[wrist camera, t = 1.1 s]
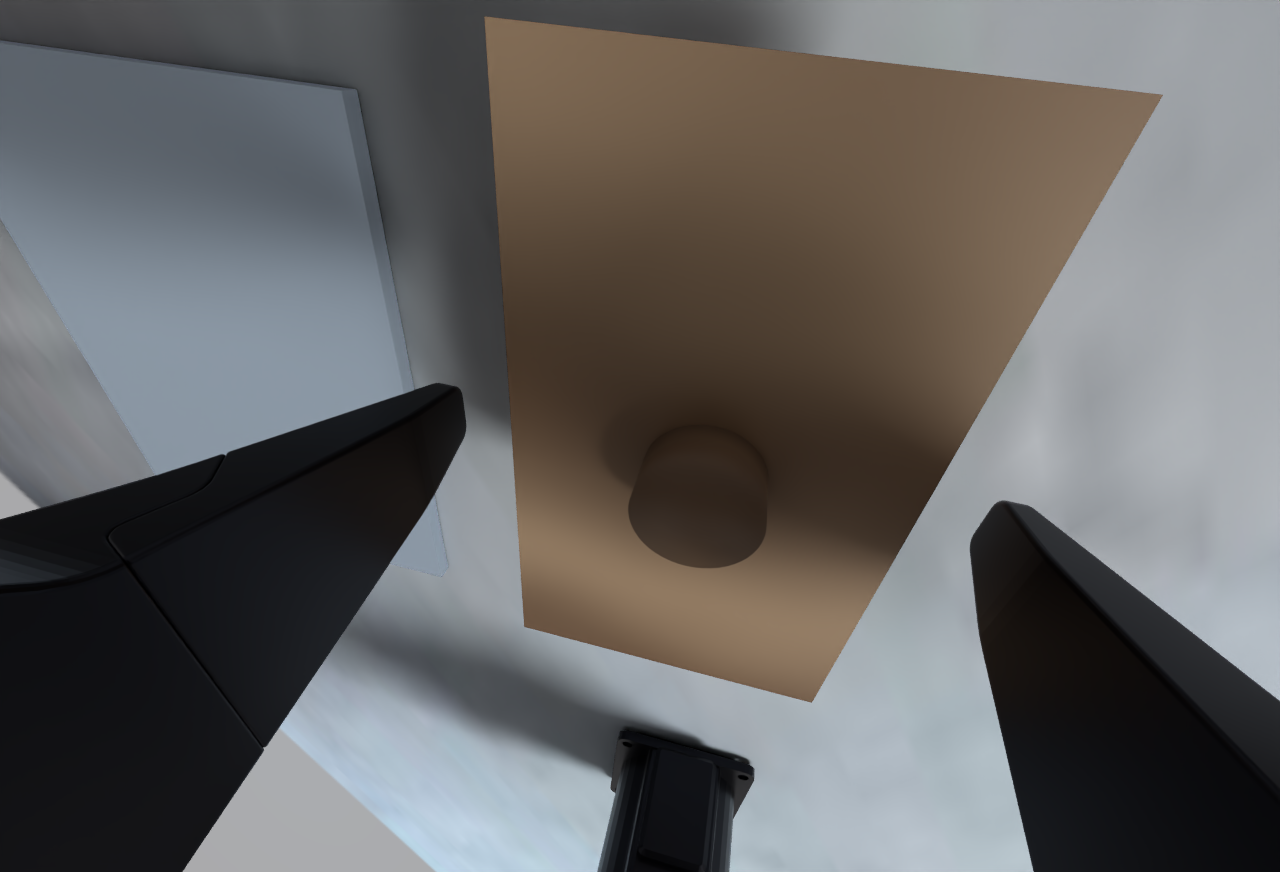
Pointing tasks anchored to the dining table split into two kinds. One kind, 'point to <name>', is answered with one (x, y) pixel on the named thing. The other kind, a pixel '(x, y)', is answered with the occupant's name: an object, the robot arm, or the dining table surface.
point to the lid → (759, 321)
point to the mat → (206, 249)
